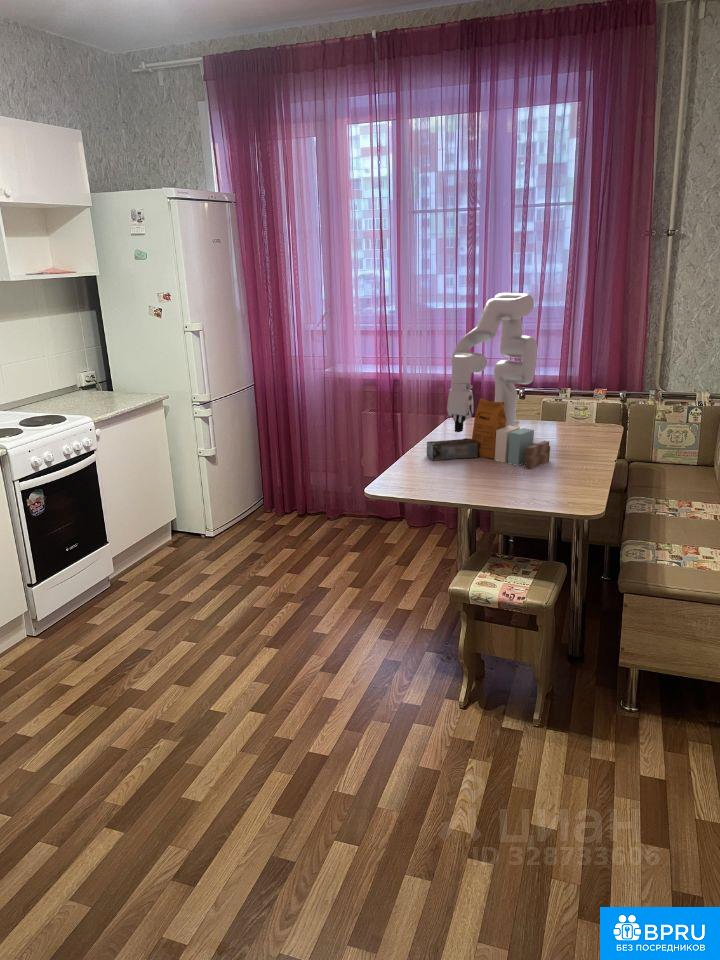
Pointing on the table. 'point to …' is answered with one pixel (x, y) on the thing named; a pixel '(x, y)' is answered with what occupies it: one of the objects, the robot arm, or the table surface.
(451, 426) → the table surface
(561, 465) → the table surface
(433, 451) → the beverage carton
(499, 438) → the book cream
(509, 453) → the book teal
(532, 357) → the robot arm
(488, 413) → the coffee package
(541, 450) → the brown patterned block
